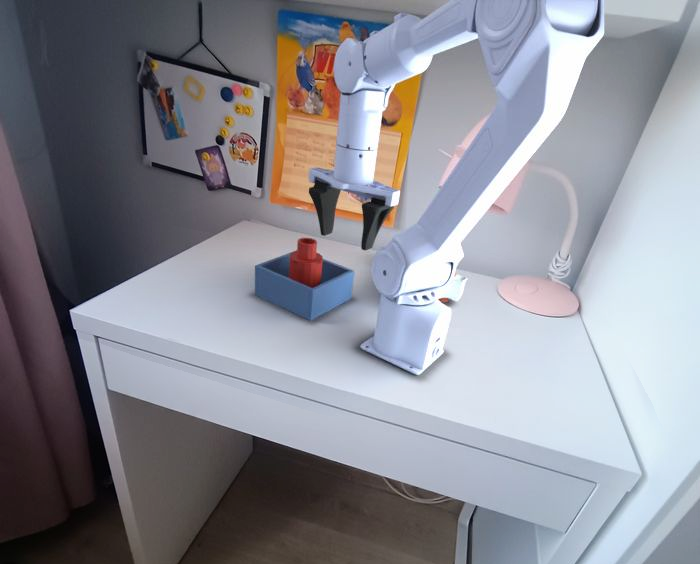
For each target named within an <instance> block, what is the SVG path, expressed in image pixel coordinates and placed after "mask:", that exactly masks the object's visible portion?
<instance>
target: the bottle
mask: <svg viewBox="0 0 700 564" xmlns="http://www.w3.org/2000/svg"><path fill="white" fill-rule="evenodd" d="M296 248H297V249H296V250H297V251H296V250H293V251H294V252H293V251H291V252H292V253H291V252H290V253H291V254H290V262H289V278H290V279H292V280H294V281H297V282H299V283H301V284H304V285H306V286H308V287H310V288H314V287H316V286H318V285H320V284H321V274H322V263H323V259H324V258H323V255H321V254H320V253H319V252H317V249H318V241H317V240H316V239H314V238H311V237H301V238H298V239H297V245H296Z"/></svg>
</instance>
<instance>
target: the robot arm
mask: <svg viewBox="0 0 700 564" xmlns="http://www.w3.org/2000/svg"><path fill="white" fill-rule="evenodd" d="M604 35H605V0H449V1H448V2H446V3H445V4H442V5H441V6H440V7H439V8H437V9H435V10H433V12H431V13H430V14H428V15H427V16H425V17H424V18H422V19H421V18H420V17H419V16H417V15H413V14H411V13H407V12H406V13H405V12H399V13H398V14H396V15H395V16H394V17H393V22H392V23H391V24H389V25H387V26H386V27H384V28H382V29H381V30H373V31H372V32H370V34H369V37H367V38H366V39H364V40H363V41H360V40H357V39H356V38H352V37H346V38H345V39H344V41H342V42H341V44H340V45H339V46H338V47H337V50H336V53H335V56H334V61H333V78H334V82H335V85H336V87H337V89H338V91H339V92H340V96H339V97H340V98H339V107H338V119H337V120H338V121H337V131H336V142H335V154H334V164H333V166H334V167H333V170H332V169H327V168H326V169H325V168H323V167H311V168H309V169H308V183H311V184H313V186H310V187H309V188H308V195H309V197H310V198H311V200H312V203H313V205H314V208H315V211H316V216H317V219H318V220H317V221H318V225H319V230H320V236H323V237H325V236H328V235H330V234H333V232H334V231H333V230H334V226H335V216H336V210H337V209H336V208H337V204H338V200H339V197H340V195H341V192H342V191H343V192H346V193H348V194H353V195H356V196H359V197H362V198H366V199H369V200H370V201H366V202H363V203H362V204H361V210H362V212H361V213H362V222H363V223H362V236H361V244H360V245H361V246H360V248H361V250H362V251H369V250H370V249H372V248H373V247H374V245H375V242H376V239H377V237H378V234H379V232H380V230H381V227H382V226H383V224H384V222H385V221H386V219H387V218H388V216H389V215H390V213H391V212H392V211H393V210H394V208H395V207H396V206H397V205H399V200H400V195H401V190H400V189H397V188H393V187H391V186H388V185H386V184H384V183H381V182H379V181H378V180H375V178H374V176H375V170H376V164H377V163H376V162H377V155H378V148H379V141H380V133H381V127H382V126H381V125H382V119H383V112H385V111H386V109H387V107H388V105H389V98H390V95H391V93H392V92H393V90H394V88H395V86H396V84H398V83H401V82H403V81H405V80H408V79H410V78H413V77H416V76H417V75H419V74H422V73H423V72H425V71H426V70H427V69H428V68H429V66H430V64H431V62H432V59H433V56H434V55H436V54H439V53H442V52H445V51H448V50H450V49H453V48H455V47H458V46H461V45H463V44H466V43H469V42H471V41H474V40H476V39H478V41H479V45H480V48H481V51H482V55H483V58H484V61H485V64H486V68H487V72H488V75H489V78H490V82H491V85H492V88H493V89H494V90H495V91H496V95H497V103H496V105H495V107H494V108H493V110H492V111H491V113H489V116H488V117H487V119H486V120H485V121H484V123H483V124H482V126H481V128H480V129H479V130H478V132H477V133H476V135H475V136H474V138H473V139H472V141H471V142H470V144H469V145H468V147H467V148H466V150H465V151H464V152H463V154H462V155H461V156H460V159H459V160H458V162H457V163H456V164H455V166H454V167H453V169H452V170H451V172H450V174H449V175H448V176H447V178H446V179H445V181H444V182H443V184H442V185H441V186H440V188H439V190H438V191H437V192H436V194H435V195H434V197H433V198H432V200H431V202H430V203H429V204H428V206H427V207H426V209H425V210H424V212H423V213H422V214H421V216H420V217H419V219H418V221H417V222H416V223H414V224H413V225H411V226H410V227H408V228H406V229H404V230H402V231H400V232H399V233H397V234H396V235H394V236H393V237H391V238H392V239H391V240H390V241H389V242H388V244H386V245H385V246H382V247H380V248H379V249H378V250H377V251H376V252H375V253H374V255H373V258H372V262H371V278H372V282H373V284H374V285H375V287H376V290H377V292H379V293H380V299H379V305H378V311H377V316H376V321H375V328H374V333H373V334H374V335H373V336H372V337H369V338H368V339H367V340H365V341H364V342H363V343H361V344H360V346H359V347H360V349H361V350H363V351H365V352H367V353H369V354H372V355H373V356H375V357H377V358H380V359H382V360H384V361H387V362H388V363H391V364H393V365H395V366H397V367H399V368H401V369H403V370H405V371H407V372H409V373H411V374H413V375H416V376H419V375H421V374H422V373H423V372H424V371H425V370H426V369H427V368H428V367H429V366H431V365H432V363H434V362H435V361H436V360H438V358H439V357H441V356H442V354H444V351H445V350H444V345H445V341H446V337H447V334H448V329H449V326H450V322H451V317H452V308H450V307H449V306H447V305H446V304H444V303H443V302H440V301H439V300H438V299H437V298H436V297H437V296H438V295H440V293H441V288H442V287H444V286H446V285H448V284H449V283H450V282H451V280H452V279H453V277H454V274H455V273H456V270H457V266H458V265H459V263H460V261H461V260H462V259H463V258H464V251H463V248H462V245H461V243H462V241H463V240H465V237H467V235H468V234H469V233H470V232H471V230H472V229H473V228H474V227H475V225H477V223H478V222H479V220H481V219H482V217H483V216H484V215H485V213H486V212H487V211H488V210H489V209H490V207H491V206H492V205H493V204H494V202H495V201H496V200H497V199H498V198H499V196H500V195H501V194H502V193H503V191H504V190H505V189H506V188H507V186H508V185H509V184H510V183H511V181H512V180H513V179H514V178H515V177H516V176H517V174H518V173H519V172H520V171H521V170H522V168H523V167H524V166H525V165H526V163H527V162H528V161H529V159H530V158H531V157H532V156H533V155H534V153H536V151H537V150H538V149H539V148H540V147H541V145H542V144H543V143H544V141H545V140H546V139H547V138H548V137H549V135H550V134H551V133H552V132H553V130H554V129H556V127H557V126H558V124H559V123H560V122H561V120H562V119H563V117H564V115H565V114H566V111H567V109H568V107H569V104H570V101H571V98H572V96H573V94H574V90H575V88H576V85H577V83H578V80H579V77H580V74H581V71H582V69H583V66H584V63H585V61H586V59H587V57H588V56H589V55H590V53H591V52H592V51H593V50H594V48H595V47H596V46H597V44H598V43H599V42H600V41H601V39H602V38H603V37H604Z"/></svg>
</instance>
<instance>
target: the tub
mask: <svg viewBox="0 0 700 564" xmlns="http://www.w3.org/2000/svg"><path fill="white" fill-rule="evenodd" d="M294 251H297V249H295V250H293V251H291V252H288V253H286V254H282V255H279V256H277V257H275V258H272V259H269V260H266V261H264V262H261V263H257V264H256V265H254V295H255V296H257V297H259V298H261V299H262V300H263V299H264V300H265V301H268V302H270V303H272V304H273V305H276V306H278V307H279V308H282V309H285V310H287V311H288V312H290V313H293V314H295V315H297V316H299V317H302V318H304V319H306V320H308V321H310V322H311V321H313V320H315V319H317V318H318V317H320V316H322V315H325V314H326V313H327V312H330V311H332V310H333V309H335V308H337V307H339V306H340V305H342V304H344V303H346V302H348V301H349V300H352V294H353V293H352V292H353V287H354V279H355V278H354V277H355V270H353V269H351V268H348V267H346V266H343V265H340V264H338V263H335V262H333V261H330V260H328V259H326V258H323V263H322V274H321V284H320V285H318V286H316V287H314V288H310V287H308V286H306V285H304V284H301V283H299V282H297V281H294V280H292V279H290V278H289V262H290V254H291V253H292V252H294Z"/></svg>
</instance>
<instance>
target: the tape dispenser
mask: <svg viewBox="0 0 700 564" xmlns="http://www.w3.org/2000/svg"><path fill="white" fill-rule="evenodd" d="M466 281H468V277H466V276H462V275H460V274H458V273H456V272H455V274H454V277H453V279H452V280H451V282H450V283H449V284H448V285H446V286H444V287H442V288H441V293H440V295H438V296H437V297H436V298H437V299H438V300H439V301H440V302H441V303H448V302H449V299H450V300H452V301H454V302H458V301H460V299H461V297H462V296H463V293H464V289H465V286H466V285H465V284H466Z"/></svg>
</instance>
